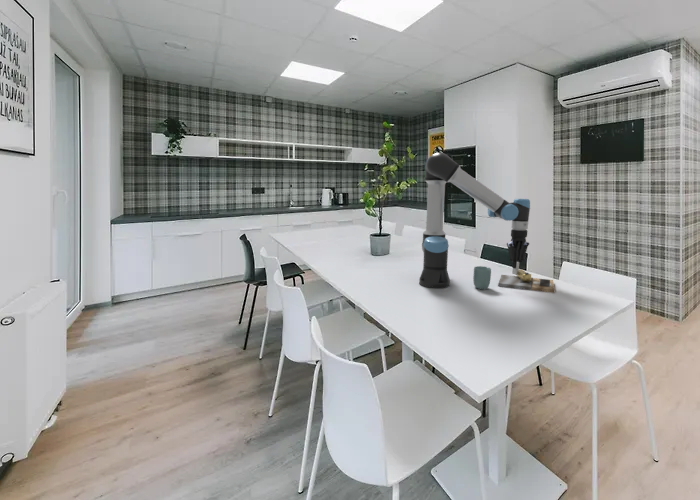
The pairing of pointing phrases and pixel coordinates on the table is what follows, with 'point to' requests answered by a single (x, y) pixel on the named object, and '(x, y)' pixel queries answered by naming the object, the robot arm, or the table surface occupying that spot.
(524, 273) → the latch arm
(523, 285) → the door board
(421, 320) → the table surface
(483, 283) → the cup
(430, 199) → the robot arm
